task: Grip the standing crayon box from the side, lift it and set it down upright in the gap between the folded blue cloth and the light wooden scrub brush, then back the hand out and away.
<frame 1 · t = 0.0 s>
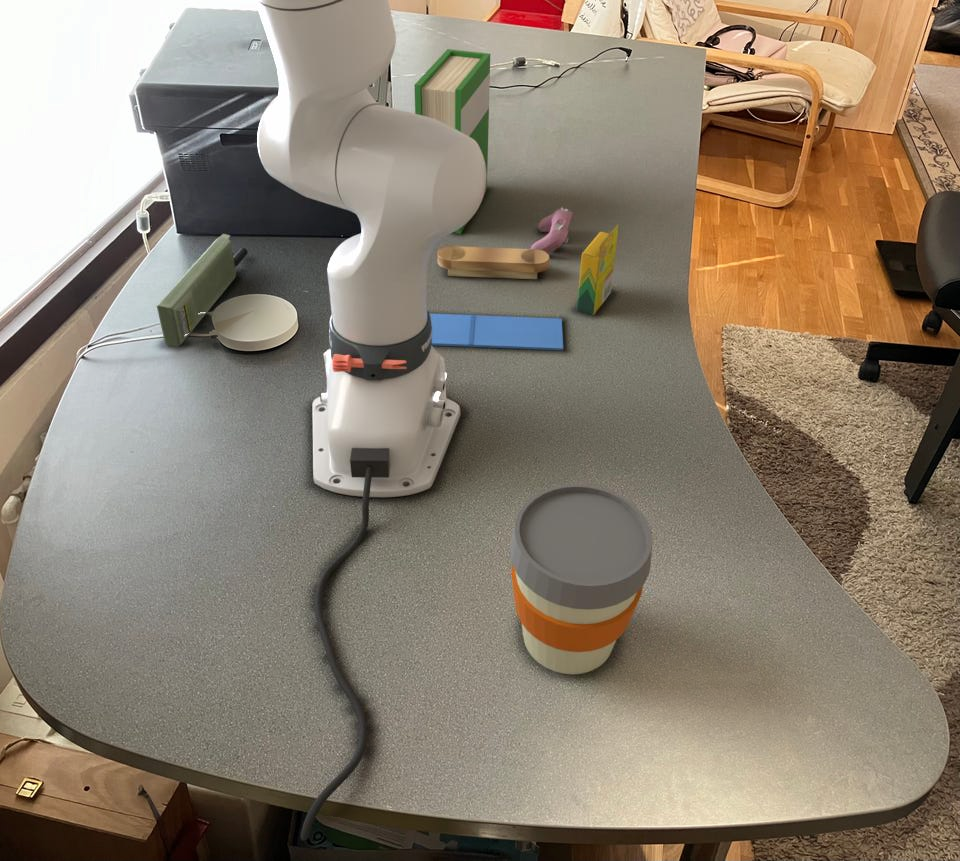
handheld radio: (211, 300, 130), on the table
scrub brush: (492, 271, 138), on the table
blue cloth: (492, 332, 125), on the table
hardback book: (454, 208, 154), on the table
reusable coffee cup: (568, 636, 86), on the table
crayon box: (593, 302, 132), on the table
video game controller: (551, 246, 145), on the table
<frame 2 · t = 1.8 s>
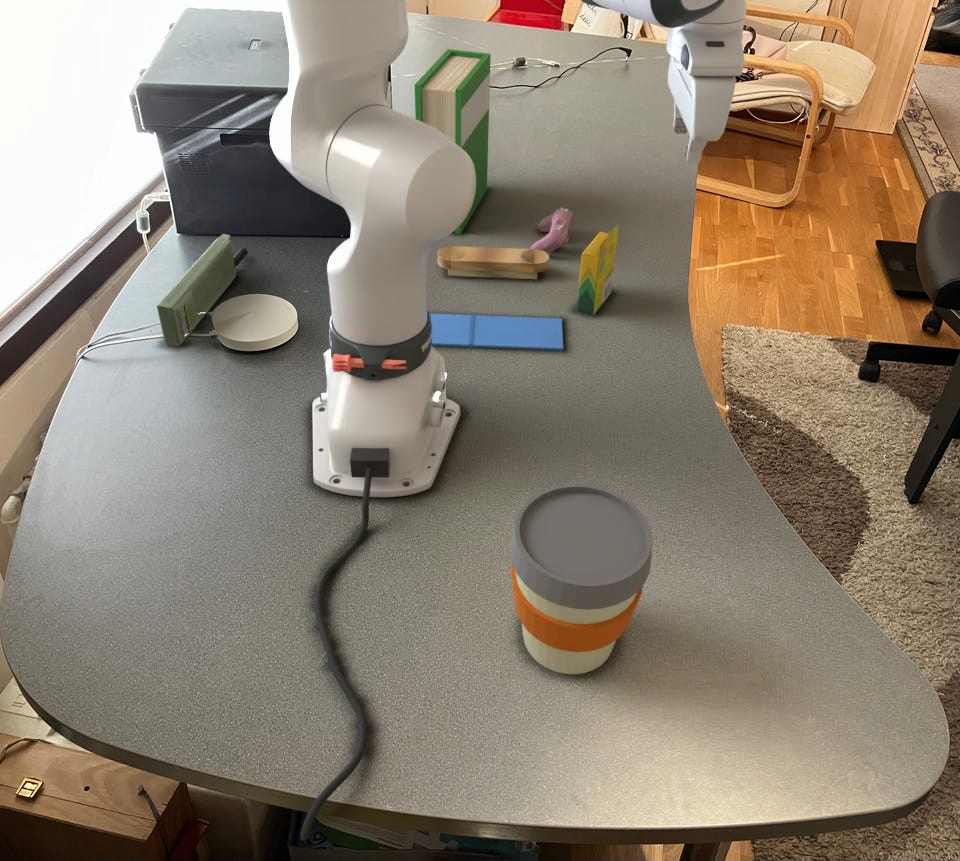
hand: (685, 146, 116), 24 cm above the table, tool pointing down, fingers open, 8 cm apart
nothing on the table moved.
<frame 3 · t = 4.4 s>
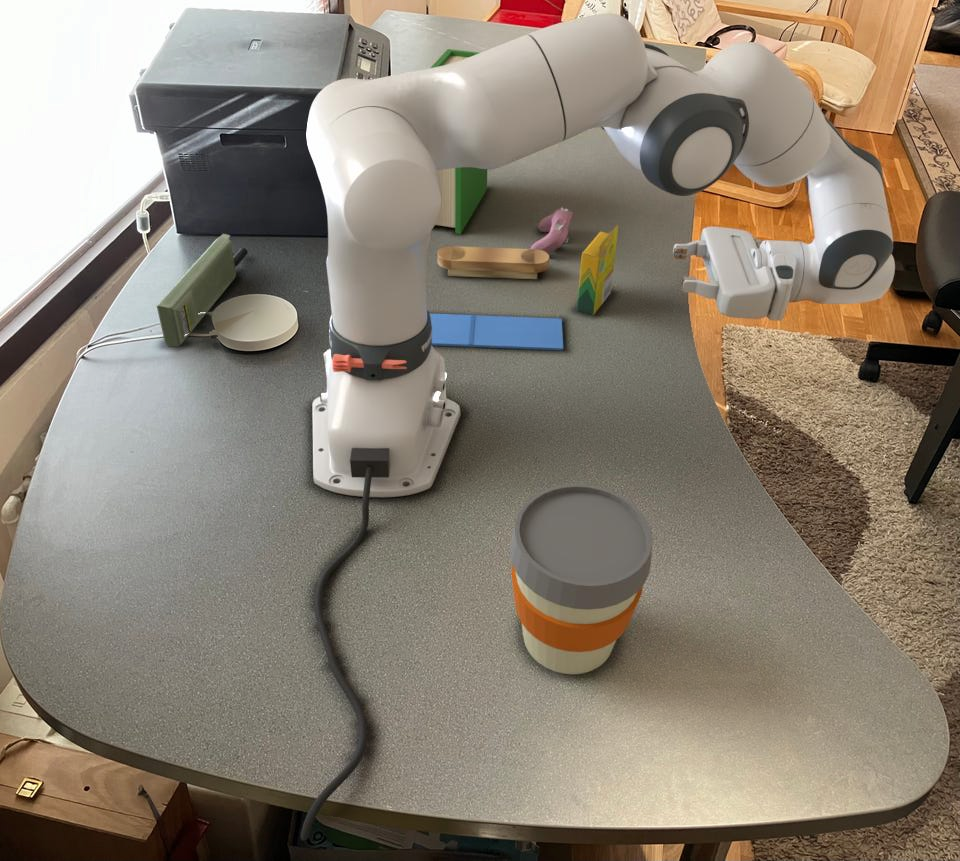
hand: (678, 267, 127), 6 cm above the table, tool horizontal, fingers open, 8 cm apart
nothing on the table moved.
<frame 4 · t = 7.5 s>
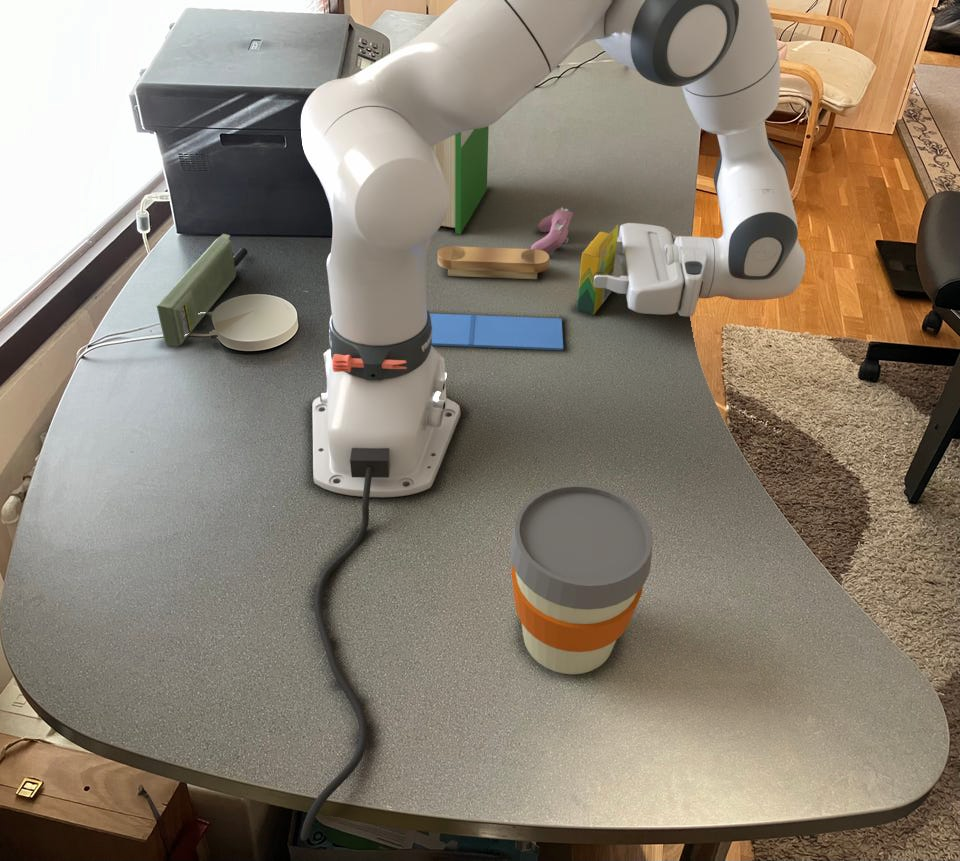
hand: (592, 263, 127), 7 cm above the table, tool horizontal, fingers closed on crayon box, 7 cm apart
crayon box: (593, 302, 132), on the table, touching gripper
everything else where it was.
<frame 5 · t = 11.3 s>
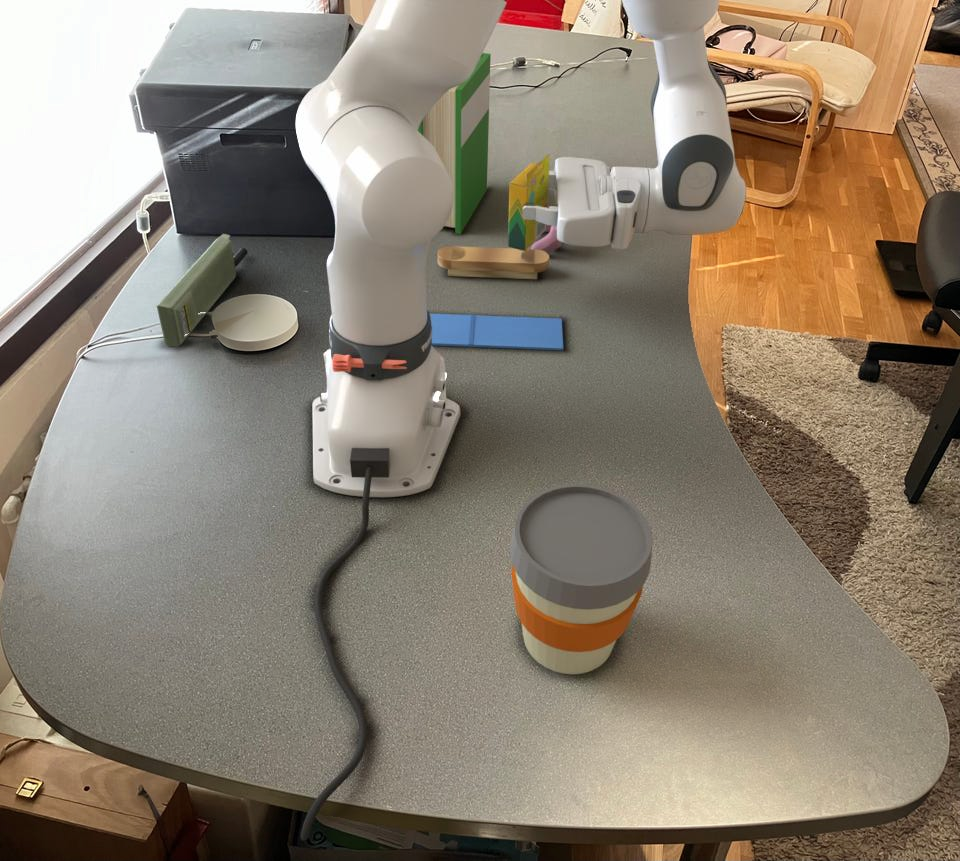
hand: (522, 196, 121), 17 cm above the table, tool horizontal, fingers closed on crayon box, 7 cm apart
crayon box: (526, 239, 125), point 10 cm above the table, touching gripper
everything else where it was.
when the fingers open (7 cm above the table, at t = 15.2 s): crayon box stays where it is, on the table.
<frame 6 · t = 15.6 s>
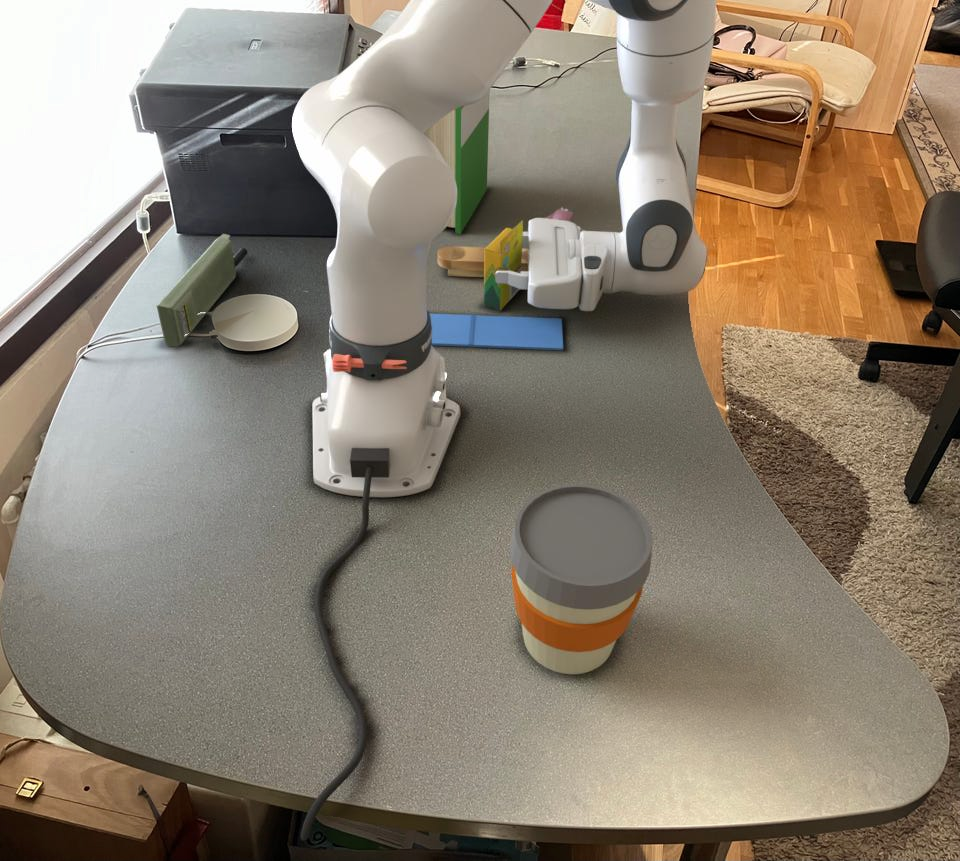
hand: (496, 258, 127), 7 cm above the table, tool horizontal, fingers open, 8 cm apart
crayon box: (502, 298, 132), on the table
everything else where it was.
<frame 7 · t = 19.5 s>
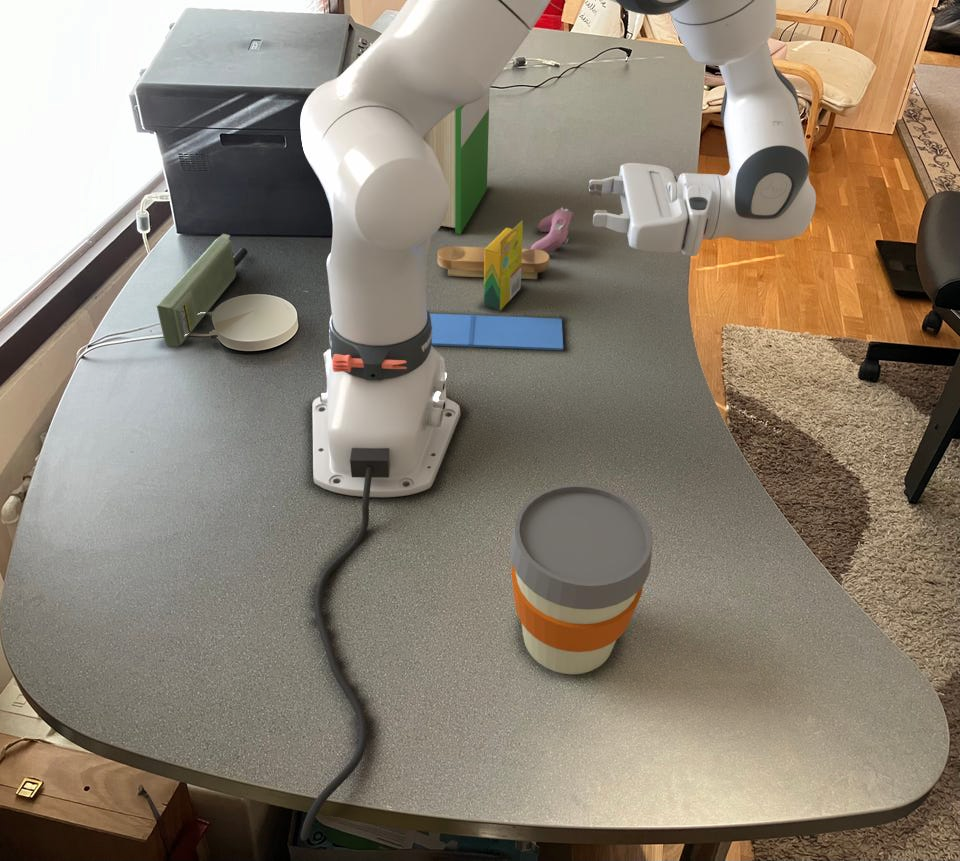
hand: (591, 202, 121), 16 cm above the table, tool horizontal, fingers open, 8 cm apart
nothing on the table moved.
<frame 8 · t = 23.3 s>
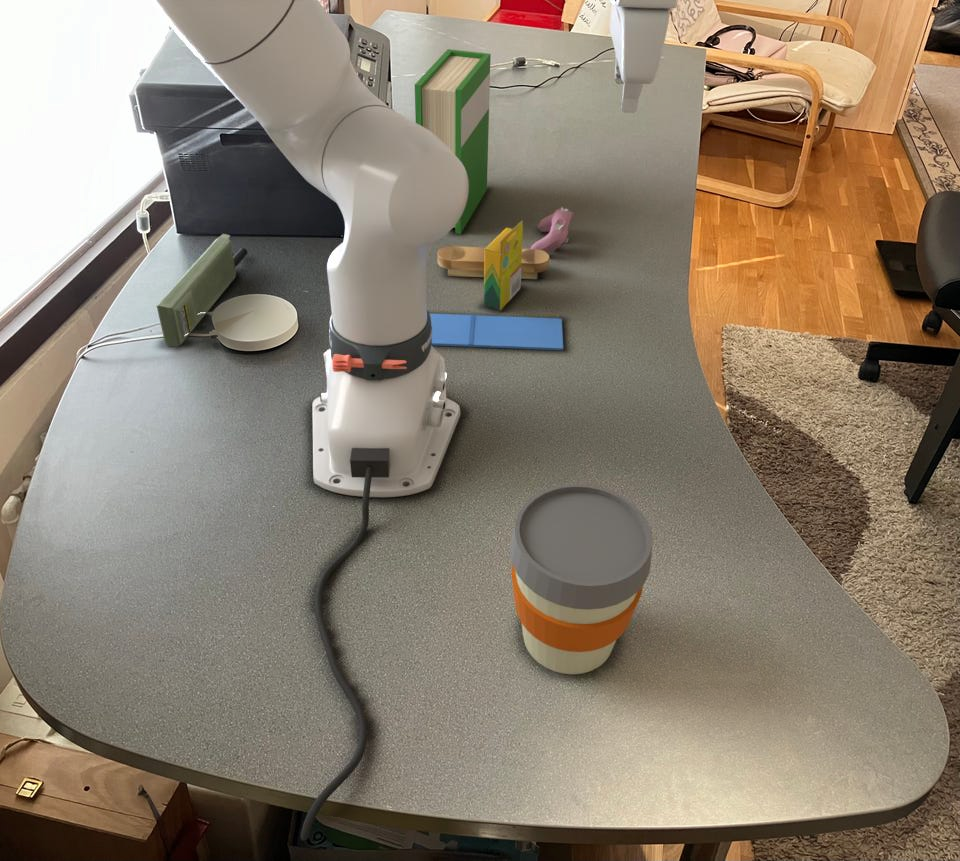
hand: (624, 95, 105), 33 cm above the table, tool pointing down, fingers open, 8 cm apart
nothing on the table moved.
at the end: crayon box inside the target area (0.2 cm from its centre), on the table; crayon box tilted 0°; the gripper is holding nothing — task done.
